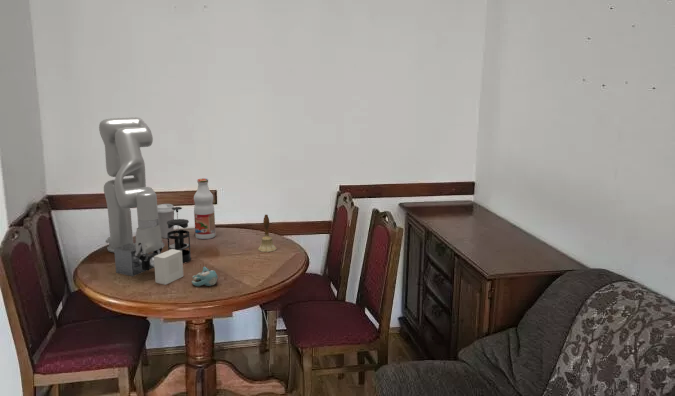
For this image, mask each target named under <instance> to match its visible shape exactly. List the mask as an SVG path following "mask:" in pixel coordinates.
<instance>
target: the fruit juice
mask: <svg viewBox="0 0 675 396" xmlns="http://www.w3.org/2000/svg"><path fill="white" fill-rule="evenodd" d="M196 181H197V190H196V192H195V193H194V195H193V201H194V206H193V215H194V219H193V220H194V235H195V238H196V239H198V240H211V239H213V238H215V237H216V221H215V219H216V218H215V206H214V204H213V203H214V194H213V193H212V192H211V191H210V188H209V185H208V183H209V179H208V178H204V177H203V178H198V179H197V180H196Z"/></svg>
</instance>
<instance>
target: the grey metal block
mask: <svg viewBox="0 0 675 396" xmlns="http://www.w3.org/2000/svg"><path fill="white" fill-rule="evenodd" d="M135 244H136V243H135ZM135 244H130V243H129V244H126V245H123V246H121V247H118V248H115V249H114V262H115V264H114V265H115V273H116V274H118V275H119V274H121V275H125V276H128V277H129V276H130V277H135V276H137V275H140V274H142V273H145V272H147V271H146V270H142V265H141V264H136V263H134V257H133V254H135V253H136V245H135ZM140 254H141V253H140ZM144 255H145V254H144Z"/></svg>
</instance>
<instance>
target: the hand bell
mask: <svg viewBox="0 0 675 396" xmlns="http://www.w3.org/2000/svg"><path fill="white" fill-rule="evenodd" d="M269 226H270V219H269V215H268V214H264V217H263V227H264V236H263V237H261V244H260V245H259V247H258V248H257V251H259V252H262V253H272V252H275V251H277V247H276V246H275V245H274V242H273V237H271V236H270V235H269V234H270V233H269Z"/></svg>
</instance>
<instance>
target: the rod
mask: <svg viewBox="0 0 675 396" xmlns="http://www.w3.org/2000/svg"><path fill="white" fill-rule="evenodd" d="M156 255H158V254H157V253H153V252H151V253H148V260H147V261H149V271H150V270H152V269H155V266H154V256H156ZM133 257H134V263H136V264H141V265H142V261H141V260H140V259H139V258H138V257H136V256H135V254H133ZM144 257H145V255H144Z"/></svg>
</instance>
